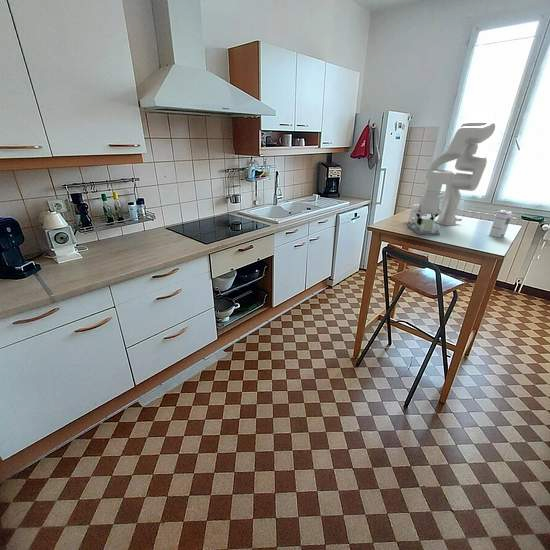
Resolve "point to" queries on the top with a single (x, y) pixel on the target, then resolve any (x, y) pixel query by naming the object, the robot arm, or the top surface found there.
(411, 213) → the photo printer
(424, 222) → the green block
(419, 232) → the standoff plate
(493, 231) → the syrup box
